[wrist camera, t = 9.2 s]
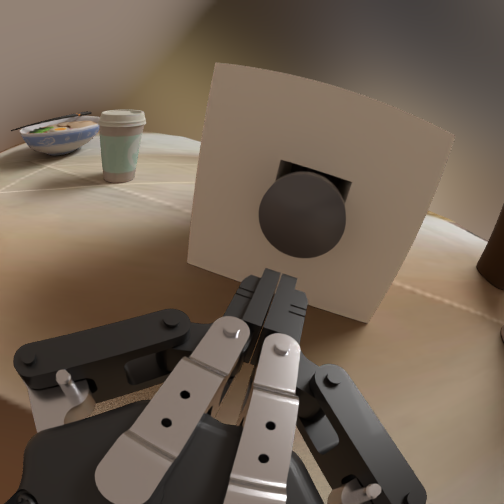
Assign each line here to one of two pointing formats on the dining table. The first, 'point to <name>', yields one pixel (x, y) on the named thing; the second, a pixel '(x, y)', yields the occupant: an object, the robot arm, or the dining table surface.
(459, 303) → the dining table surface
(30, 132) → the ramen bowl
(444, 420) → the dining table surface
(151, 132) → the dining table surface
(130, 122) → the coffee cup
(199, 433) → the robot arm
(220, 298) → the dining table surface
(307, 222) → the knob
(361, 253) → the knob mount
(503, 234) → the olive oil
